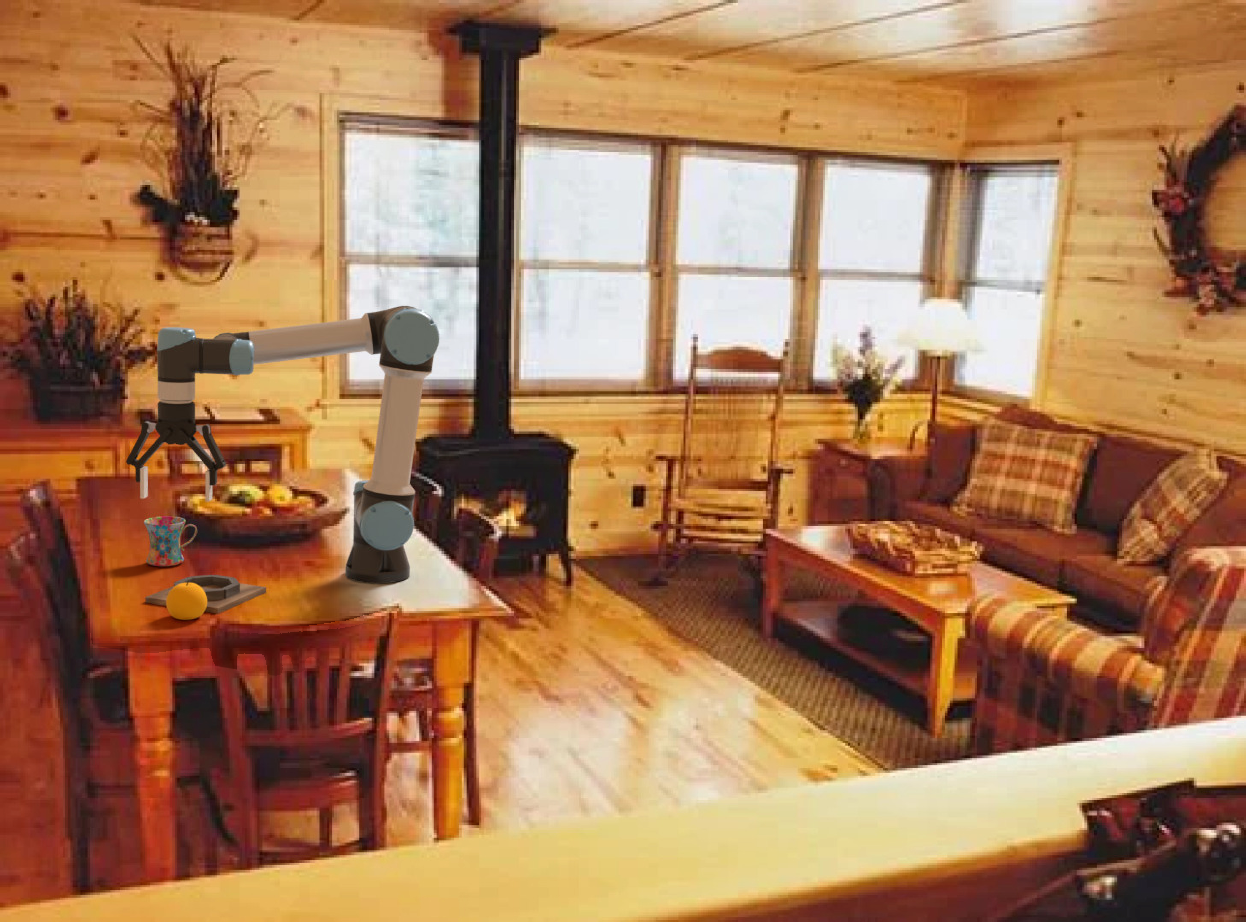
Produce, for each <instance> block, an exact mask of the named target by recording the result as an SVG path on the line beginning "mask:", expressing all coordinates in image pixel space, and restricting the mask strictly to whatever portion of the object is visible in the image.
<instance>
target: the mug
mask: <svg viewBox="0 0 1246 922" xmlns="http://www.w3.org/2000/svg"><path fill="white" fill-rule="evenodd" d="M143 524H144V526H145V528H146V531H147V533H148V537H149V552H148V556H147V558H146V563H147V564H148V565H151V566H154V567H173V566H177V565H180V564H181V563H183V562H184V560H185V558H184V556H183V554H182V551H183V552H184V551H185V549H184V548H183V547H185V546H187V545H189V544H190V543H192V541H193V540H194V539H195V537H196V536H197V534H198V528H197V526H196V525H194V524H192V523H189V524H186V519H185V518H182V517H179V516H171V515H170V516H154V517H149V518H147V519H144V520H143ZM185 524H186V525H185ZM188 527H193V528H194V534H193V535H192V537H191V538H190V539H189V540H188V541H187V542H185V543H184V544H182V545H181V536H182V534H183V532H184V531H185V529H186V528H188Z"/></svg>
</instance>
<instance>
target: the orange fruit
mask: <svg viewBox="0 0 1246 922" xmlns="http://www.w3.org/2000/svg"><path fill="white" fill-rule="evenodd" d="M172 587H173V586H172ZM206 607H207V596H206V594H205V592H204V590H203V589H202V588H201V587H200V586H199V585H197V584H195V583H189V582H187V583H181V584H178V585H176V586H175V587H173V588H172V590H171V591H170V592H169V594H168V596H167V599H166V609H167V611H168V613H169V614H170V616H172V618H174V619H177V620H181V621H190V620H194V619H197V618H199V617H201V616H202V615H203V614H204V611H205V609H206Z"/></svg>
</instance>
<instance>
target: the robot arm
mask: <svg viewBox="0 0 1246 922" xmlns="http://www.w3.org/2000/svg"><path fill="white" fill-rule="evenodd" d="M439 345H440V332H439V328H438V326H437V323H436V321H435V320H434V319H433V318H432V317H431V316H430V315H429V313H427V312H426V311H424V310H422V309H419V308H416V307H414V306H409V305H400V306H396V307H391V308H388V309H387V308H386V309H384V310H383V309H382V310H379V311H372V312H366V313H364V314H363V315H362V316H361V317H360V318H351V319H344V320H343V319H342V320H335V321H326V322H318V323H309V324H308V323H307V324H302V325H292V326H291V325H290V326H286V327H285V326H284V327H276V328H268V329H267V328H266V329H260V330H250V331H242V332H234V333H232V332H223V333H219V334H218V335H215V336H214V337H213V338H202V337H197V335H196V330H194V329H193V328H189V327H179V326H178V327H172V326H170V327H163V328H161V329H160V330H159V331H158V333H157V348H156V355H157V356H156V358H157V360H156V361H157V362H156V363H157V364H156V365H157V399H158V400H159V401H158V402H157V422H156V423H155V422H151V421H149V420H147V421H145V422H142V423H141V431H140V434H139V435H138V438H137V439H136V441H135V443H134V445H133V447H132V449H131V452H129V454H128V456H127V458H126V461H125V463H126V465H130V466H133V467H134V469H135V482H136V483H139V486H140V488H139V491H140V493H139V494H140V496H139V498H140V499H143V500H144V499H146V498H147V497H148V496H149V489H148V488H149V485H148V483H149V482H148V480H149V468H148V466H144V465H145V464H146V463H147V462H148V461H149V460H150V459H151V458H152V456H154V454H155V453H156V452H157V451H158V450H159V449H160V448H161V447H162V445H163V444H167V445H178V446H183V445H187V446H188V447H189V448H190V449H191V450H192V451H193V452H194V453H195V454H196V456H197V457H198V458H199V459H200V461H201V462H202V463H203V464H204V465H205V466H206V467H207V468H208V469H207V470H206V471H205V496H204V497H205V499H204V500H205V501H204V502H210V501H211V500H213V487H214V486H216V485H217V483H218V470H220V469H223V468H225V467H226V466H227V462H226V460H225V458H224V456H223V454H222V452H221V450H220V447H219V446H218V444H217V442H216V440H215V439H214V437H213V434H212V427H211V425H210V424H209V423H206V424H204V425H203V424H202V425H201V424H200V425H197V424H196V423H197V422H196V403H195V402H194V400H195V399H196V374H201V375H203V374H212V375H234V376H241V375H242V376H243V375H251V374H252V373H253V372H254V367H255V366H254V365H259V364H260V365H261V364H262V365H263V364H268V363H269V364H270V363H278V362H285V361H287V362H288V361H295V360H303V359H311V358H318V357H319V358H320V357H329V356H337V355H345V354H353V353H360V352H361V353H362V352H367V353H368V354H370V355H373V356H374V355H379V354H380V356H379V364H378V366H379V367H380V369H381V370H382V371H383V373H384V379H383V385H382V393H381V400H380V409H379V417H378V424H377V431H376V432H377V433H376V440H375V441H376V442H375V447H374V454H373V455H374V456H373V462H372V468H371V469H372V470H371V478H370V479H369V480H367V479H366V480H359V481H357V482H356V483H355V484H354V488H353V489H354V491H353V493H352V495H353V533H352V534H353V540H352V541H353V543H352V546H351V549H350V552H349V555H348V557H347V558H348V559H347V561H346V564H345V569H344V575H345V577H346V579H349V580H351V581H354V582H360V583H366V584H367V583H368V584H386V583H388V584H389V583H390V584H391V583H395V582H401V581H404V580H406V579H408V578H410V576H411V567H410V562H409V559H408V556H407V552H406V549H405V547H404V545H405V544H406V543H407V542H408V541H409V540H410V538H411V536H412V535H413V532H414V528H415V519H414V515H413V511H414V505H415V496H416V490H415V489H414V488H413V486H412V485H411V483H410V482H411V475H412V468H413V463H414V462H413V460H414V452H415V444H416V439H417V432H418V431H417V429H418V424H419V416H420V407H421V401H422V394H423V385H424V379H426V378H427V377H428V376H429V375H431V374H432V372H433V363H434V358H435V353H436V352H437V350H438V347H439ZM154 430H155V431H156V432H157V433H158V435H159V437H158V438H156V440H154V442H153V444H152V445H151V446H150V447H149V448H148V449H147V450H146V451H145V452H144V453H143V454H142V456H141V457H139V455H140V453H141V451H142V449H143V447H144V446H145V444H146V441H147V439H148V438H149V435H150V433H153V432H154ZM197 432H199V435H200V436H202V437H203V440H204V442H205V444H206V447H207V448H208V449H209V452H210V453H211V456H212V457H213V458H212V457H211V456H210V455H209V454H208V453H207V451H206V450H205V448H204V447H203V446H202V445H201V444H200V442H199V441H198V439H197V438H196V437H195V434H196V433H197ZM138 457H139V458H138ZM137 458H138V459H137Z"/></svg>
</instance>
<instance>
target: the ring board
mask: <svg viewBox="0 0 1246 922" xmlns="http://www.w3.org/2000/svg"><path fill="white" fill-rule="evenodd" d="M187 582H189V583H195V584H197V585H199V586H200V587H201V588H202V589H203V590H204V592H205V594H206V596H207V607H206V609H205V611H204V612H206V613H211V614H212V613H213V614H218V615H219V614H220V613H222V612H225V611H227V610H230V609H232V608H234V607H237V606H238V605H241V604H243V603H245V602H248V601H250V600H252V599H254V598H257V597H259V596H261V595H264V594H267V587H266V586H262V585H253V584H246V583H242V582H241V583H240V582H239V581H238V579H237V578H236V577H233V576H226V575H219V574H205V575H203V574H202V575H193V576H191V575H190V576H186V577H184V578H182V579H178V580H177V581H174V582H173V586H171V587H168V588H164V589H163V590H161V591H158V592H154V593H152V594H149V595H147V596H145V598H144V599H145V600H144V602H145V603H146V604H152V605H160V606H164V607H165V606H166V599H167V596H168V594H169V592H170V591H171V590H172V588H173V587H175V586H176V585H178V584H181V583H187ZM166 607H167V606H166Z"/></svg>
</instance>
